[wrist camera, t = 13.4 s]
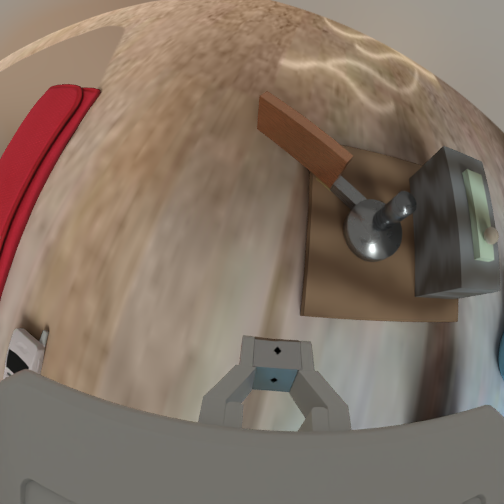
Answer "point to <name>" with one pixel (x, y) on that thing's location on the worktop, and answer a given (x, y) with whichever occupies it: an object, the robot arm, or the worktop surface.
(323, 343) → the worktop surface
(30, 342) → the mobile phone
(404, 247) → the stand
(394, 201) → the wooden lever
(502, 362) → the teapot
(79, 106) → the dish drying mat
